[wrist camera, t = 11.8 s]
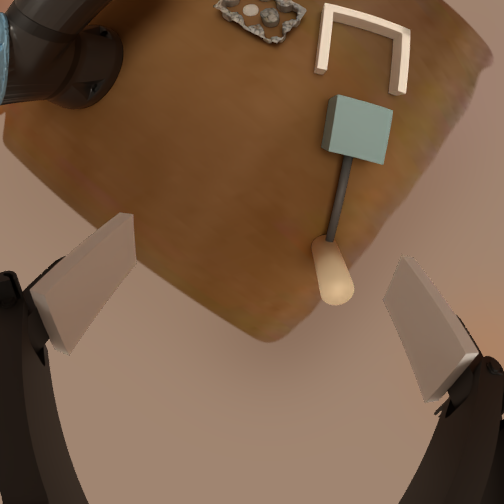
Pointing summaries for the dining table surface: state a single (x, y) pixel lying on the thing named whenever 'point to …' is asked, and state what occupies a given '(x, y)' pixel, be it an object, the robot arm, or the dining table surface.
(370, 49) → the dining table surface
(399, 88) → the white u-shaped bracket
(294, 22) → the egg carton
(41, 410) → the robot arm
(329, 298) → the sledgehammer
